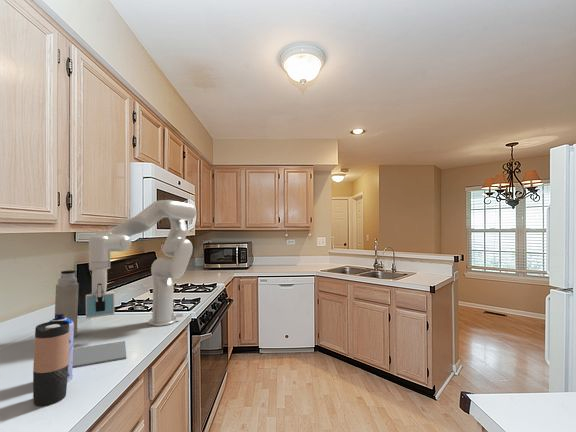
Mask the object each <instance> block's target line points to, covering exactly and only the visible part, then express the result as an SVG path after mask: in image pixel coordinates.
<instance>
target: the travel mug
mask: <svg viewBox="0 0 576 432" xmlns="http://www.w3.org/2000/svg"><path fill="white" fill-rule="evenodd" d="M33 348H34V350H33V367H32V368H33V369H32V370H33V371H32V373H33V374H32V377H33V379H32V386H33V387H32V390H33V391H32V393H33V394H32V397H33V398H32V399H33V401H32V402H33V403H32V404H33V405H34V406H36V407H45V406H46V407H47V406H50V405H54V404H57V403H59V402H60V401H61V402H62V400H64V399H65V398H66V396H67V388H68V387H67V386H68V382H67V376H68V358H69V322H68V321H52V322H49V321H47V322H43V323H40V324H37V325H36V326H35V331H34V347H33Z"/></svg>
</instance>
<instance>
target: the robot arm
mask: <svg viewBox="0 0 576 432" xmlns="http://www.w3.org/2000/svg"><path fill="white" fill-rule="evenodd" d="M196 215H197V208H196V207H195V206H194V205H193V204H190V203H187V202H182V201H178V200H172V199H163V200H161V199H160V200H156V201H153V202H152V203H150V204H149V205H148V206H147V207H146V208H144V209H142V210H141V211H140V212H139V213H138V214H136V215H135V216H133V217H130V218H129V219H127V220H125V221H123V222H121V223H119V224H118V225H116V226H114V227H113V228H111V229H110V230H109V231H107V232H106V233H105V234H104V235H91V236H89V238H88V268H89V269H88V270H89V271H91V294H92V295H94V294H96V312H100V311H105V301H104V294H105V293H106V292H107V288H108V287H107V286H108V270H109V269H111V253H112V252H121V253H122V252H125V251H128V250H130V248H131V246H132V238H131V237H132V236H134V235H137V234H141V233H145V232H147V231H149V230H150V229H151V228H152V227H154V226H155V225H156V224H157V223H158V222H160V221H161V220H163V219H164V218H168V220H169V222H170V230H169V232H168V235H167V237H166V239H165V241H164V244H163V247H162V253H163V255H165V256H167V257H160V258H157V259H155V260H154V261H153V263H151V267H150V271H151V276H152V277H151V278H152V310H151V311H152V313H151V315H152V318H151V319H149V320H148V325H150V326H154V327H162V326H169V325H172V324H174V323H176V322H177V318H183V316H184V313H183V312H175V311H174V289H175V288H174V281H173V280H176V279H177V280H178V279H180V278H181V277H182V276H183V275H184V273H185V272H186V270H187V268H188V265H189V262H190V259H191V257H192V254H193V250H194V249H193V248H194V247H193V244H192V242H191V241H190V240H189V239H187V234H188V227H187V226H188V225H187V224H186V221H192V220H193V219H194V218H195V217H196ZM169 257H171V258H169ZM97 293H98V294H97ZM102 298H103V299H102Z"/></svg>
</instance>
